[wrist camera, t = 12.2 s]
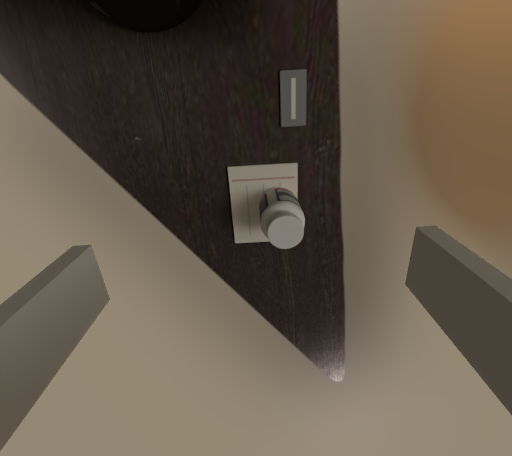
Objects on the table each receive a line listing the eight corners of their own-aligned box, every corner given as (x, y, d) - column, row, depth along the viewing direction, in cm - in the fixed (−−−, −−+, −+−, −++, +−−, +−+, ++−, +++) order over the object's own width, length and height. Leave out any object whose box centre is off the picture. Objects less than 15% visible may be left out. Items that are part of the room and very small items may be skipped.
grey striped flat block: (279, 71, 32) (280, 70, 32) (306, 69, 32) (306, 69, 32) (281, 126, 35) (281, 127, 34) (305, 125, 35) (305, 125, 34)
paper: (227, 166, 37) (227, 167, 36) (297, 162, 37) (297, 163, 36) (235, 241, 41) (234, 243, 41) (296, 238, 41) (297, 239, 41)
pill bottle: (269, 228, 40) (273, 261, 32) (252, 197, 38) (251, 224, 30) (304, 212, 39) (317, 242, 31) (288, 179, 37) (297, 202, 29)
